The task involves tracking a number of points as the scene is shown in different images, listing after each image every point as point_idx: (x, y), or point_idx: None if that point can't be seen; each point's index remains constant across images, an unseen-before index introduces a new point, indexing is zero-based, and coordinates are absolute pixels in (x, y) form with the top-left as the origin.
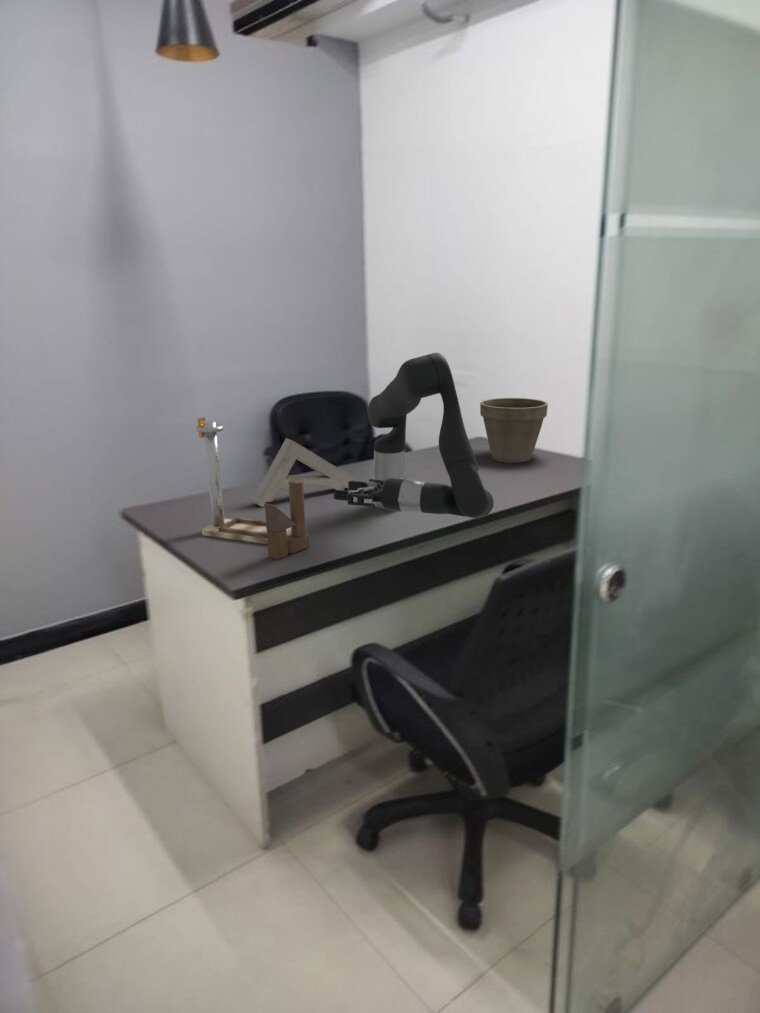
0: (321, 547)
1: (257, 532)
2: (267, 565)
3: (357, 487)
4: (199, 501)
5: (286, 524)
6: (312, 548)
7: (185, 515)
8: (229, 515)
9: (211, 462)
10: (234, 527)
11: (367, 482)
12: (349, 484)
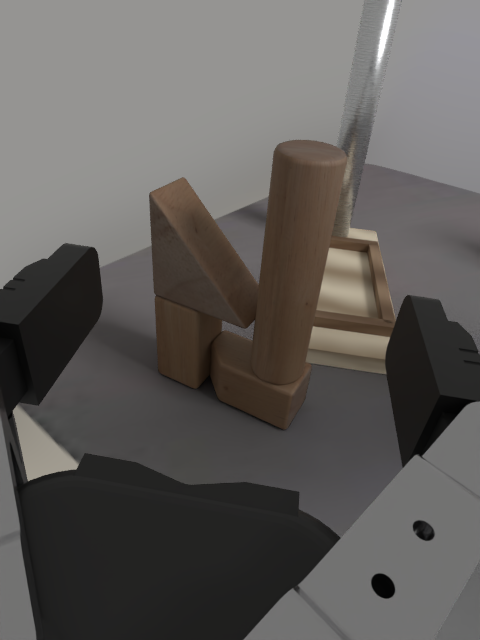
0: (303, 471)
1: None
2: (114, 360)
3: (407, 398)
4: (461, 201)
5: (198, 296)
6: (283, 444)
7: (379, 201)
8: (424, 242)
9: (355, 54)
10: (331, 253)
11: (461, 454)
12: (399, 321)
